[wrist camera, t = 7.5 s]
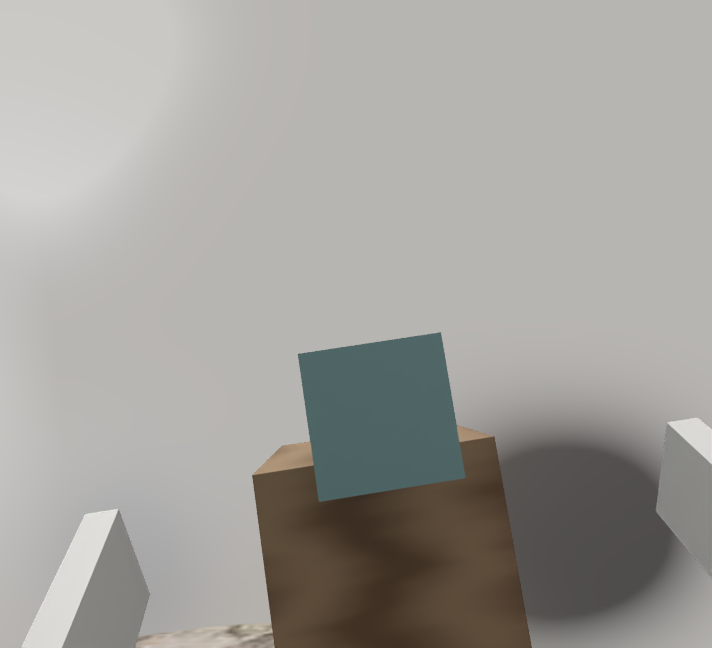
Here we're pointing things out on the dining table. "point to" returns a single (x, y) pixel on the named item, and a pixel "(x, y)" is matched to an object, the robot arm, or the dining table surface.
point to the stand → (391, 558)
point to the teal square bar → (380, 416)
